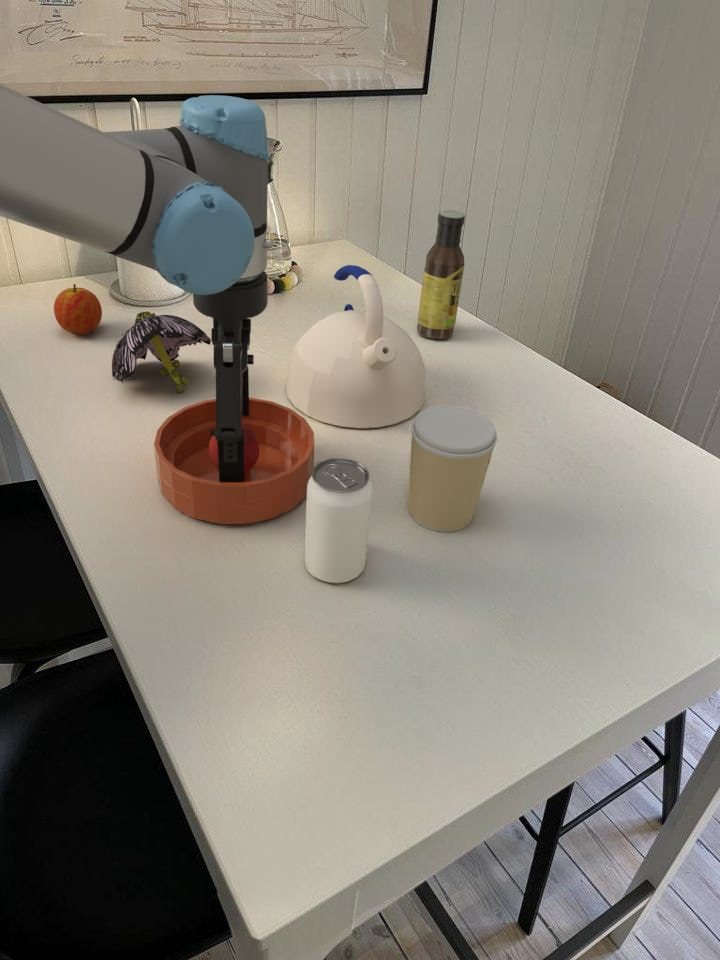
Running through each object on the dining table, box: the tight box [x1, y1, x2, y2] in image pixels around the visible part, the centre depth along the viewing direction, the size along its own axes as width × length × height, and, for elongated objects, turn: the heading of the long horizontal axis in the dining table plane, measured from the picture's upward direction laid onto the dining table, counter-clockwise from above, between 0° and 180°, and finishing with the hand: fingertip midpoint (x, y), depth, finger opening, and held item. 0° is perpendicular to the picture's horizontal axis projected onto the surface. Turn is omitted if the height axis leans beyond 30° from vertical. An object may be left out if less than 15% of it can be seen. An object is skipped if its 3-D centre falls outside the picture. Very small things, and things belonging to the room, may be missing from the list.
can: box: [304, 457, 373, 585], centre depth 77 cm, size 6×6×12 cm
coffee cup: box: [407, 404, 498, 533], centre depth 85 cm, size 9×9×12 cm
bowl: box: [153, 397, 316, 525], centre depth 89 cm, size 18×18×6 cm
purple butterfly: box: [111, 311, 212, 394], centre depth 105 cm, size 14×12×15 cm
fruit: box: [53, 283, 103, 336], centre depth 116 cm, size 7×7×8 cm
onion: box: [209, 424, 259, 473], centre depth 88 cm, size 6×6×8 cm
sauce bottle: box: [416, 209, 466, 340], centre depth 121 cm, size 6×6×20 cm
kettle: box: [284, 264, 426, 430], centre depth 104 cm, size 20×21×18 cm
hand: (235, 445), depth 88 cm, fingers open, 13 cm apart
